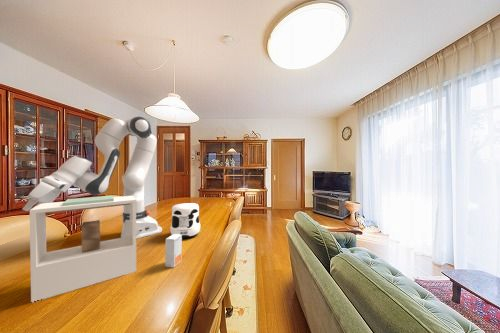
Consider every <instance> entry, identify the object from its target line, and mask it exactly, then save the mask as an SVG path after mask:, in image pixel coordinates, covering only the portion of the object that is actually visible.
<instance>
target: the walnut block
mask: <svg viewBox="0 0 500 333" xmlns="http://www.w3.org/2000/svg"><path fill="white" fill-rule="evenodd" d="M100 222H101V220H100V219H98V220H91V221H85V222H82V224H81V246H82V253H85V252H89V251H94V250H99V249H100V242H101V232H100V231H101V224H100Z"/></svg>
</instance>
